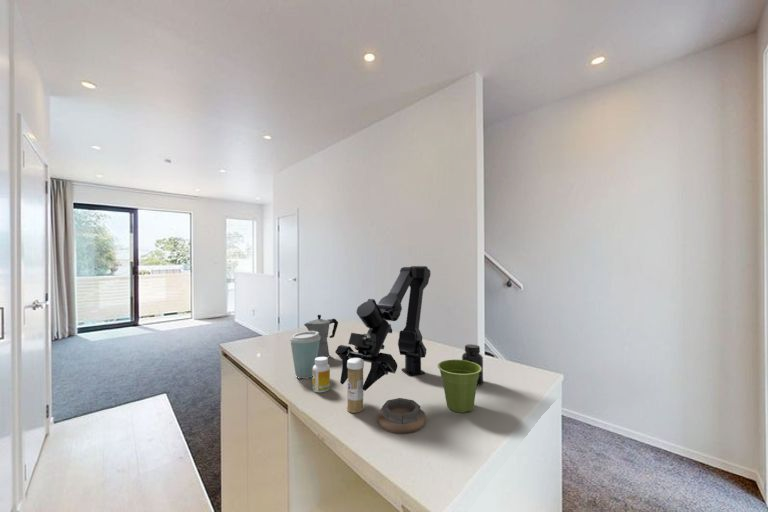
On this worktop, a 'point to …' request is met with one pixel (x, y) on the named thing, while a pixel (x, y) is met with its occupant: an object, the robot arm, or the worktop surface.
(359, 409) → the sprinkles bottle
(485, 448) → the worktop surface
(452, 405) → the plant pot
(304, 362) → the disposable coffee cup
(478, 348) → the supplement bottle
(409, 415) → the brown grey round base
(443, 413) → the worktop surface
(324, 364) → the supplement bottle
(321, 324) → the coffeepot
